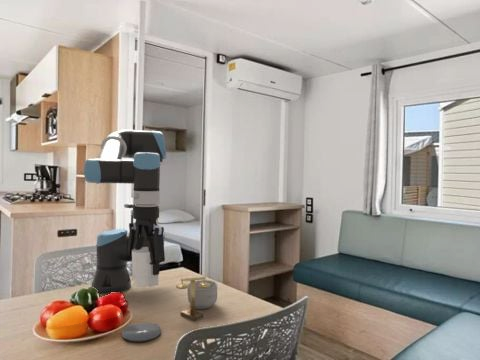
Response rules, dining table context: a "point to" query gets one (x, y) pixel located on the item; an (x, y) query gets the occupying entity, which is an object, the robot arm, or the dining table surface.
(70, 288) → the dining table surface
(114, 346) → the dining table surface
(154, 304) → the dining table surface
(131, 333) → the dish
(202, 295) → the teacup
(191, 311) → the balance
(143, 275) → the white cup
